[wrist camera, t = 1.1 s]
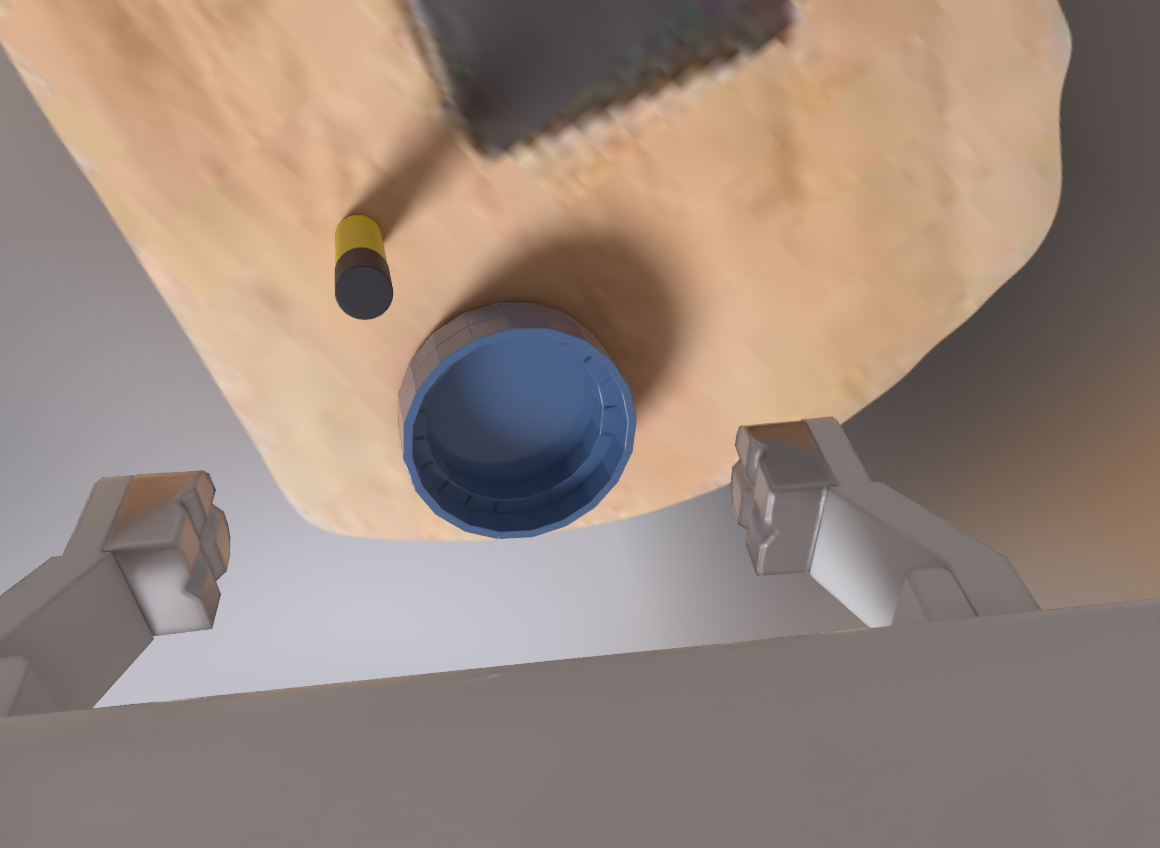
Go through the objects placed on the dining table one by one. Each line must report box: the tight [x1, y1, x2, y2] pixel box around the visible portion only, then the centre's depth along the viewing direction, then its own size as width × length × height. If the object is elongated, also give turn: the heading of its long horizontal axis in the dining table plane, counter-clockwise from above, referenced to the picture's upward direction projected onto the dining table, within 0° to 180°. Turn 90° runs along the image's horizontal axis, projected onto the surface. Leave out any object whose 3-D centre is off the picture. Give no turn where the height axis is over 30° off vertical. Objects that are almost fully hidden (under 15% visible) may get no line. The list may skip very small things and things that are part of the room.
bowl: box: [398, 302, 636, 539], centre depth 61 cm, size 15×15×6 cm
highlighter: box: [335, 215, 393, 320], centre depth 51 cm, size 3×3×11 cm
